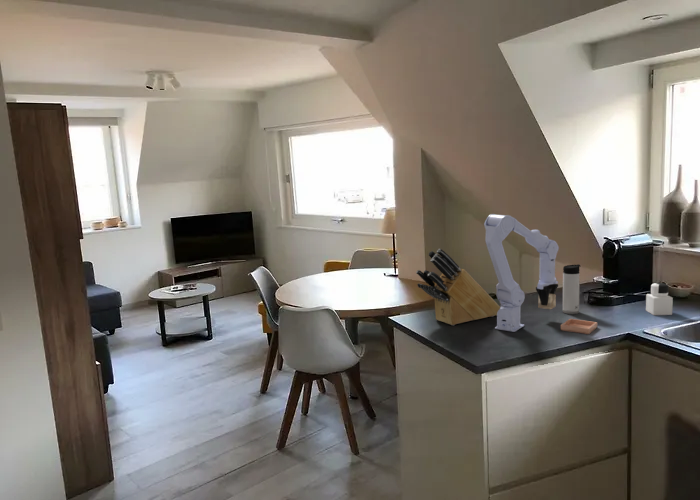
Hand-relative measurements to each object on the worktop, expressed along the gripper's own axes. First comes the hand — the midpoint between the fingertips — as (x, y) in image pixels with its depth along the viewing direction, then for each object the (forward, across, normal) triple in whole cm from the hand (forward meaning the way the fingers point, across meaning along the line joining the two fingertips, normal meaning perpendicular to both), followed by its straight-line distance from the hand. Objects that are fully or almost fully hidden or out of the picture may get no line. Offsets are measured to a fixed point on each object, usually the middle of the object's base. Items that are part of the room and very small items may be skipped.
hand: (546, 303), depth 215 cm
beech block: (+1, 0, 0) cm, 1 cm away
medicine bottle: (+7, +32, -33) cm, 47 cm away
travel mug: (+7, +16, -4) cm, 18 cm away
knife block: (+7, -17, +30) cm, 35 cm away
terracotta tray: (+7, -5, -14) cm, 16 cm away
